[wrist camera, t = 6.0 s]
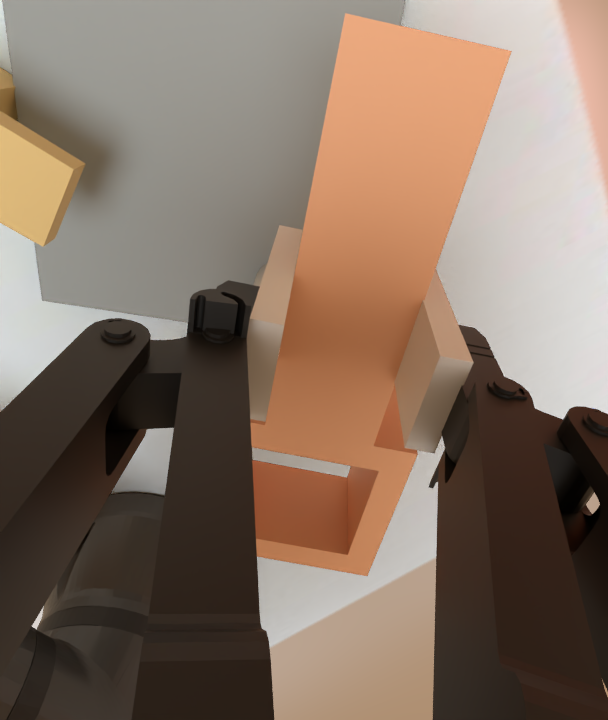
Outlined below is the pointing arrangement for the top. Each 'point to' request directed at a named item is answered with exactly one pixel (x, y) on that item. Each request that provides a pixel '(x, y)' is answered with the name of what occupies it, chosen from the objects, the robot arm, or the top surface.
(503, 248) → the top surface
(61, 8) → the board
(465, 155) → the link
